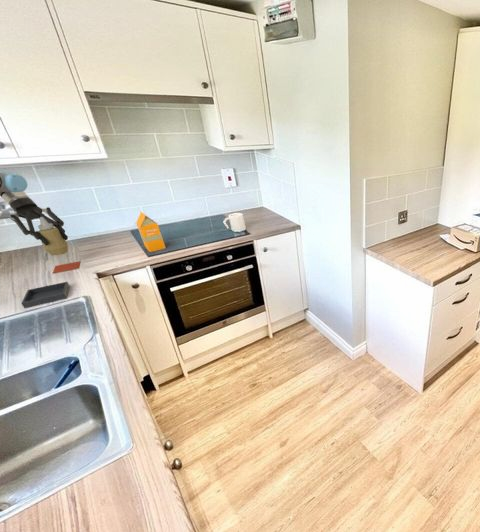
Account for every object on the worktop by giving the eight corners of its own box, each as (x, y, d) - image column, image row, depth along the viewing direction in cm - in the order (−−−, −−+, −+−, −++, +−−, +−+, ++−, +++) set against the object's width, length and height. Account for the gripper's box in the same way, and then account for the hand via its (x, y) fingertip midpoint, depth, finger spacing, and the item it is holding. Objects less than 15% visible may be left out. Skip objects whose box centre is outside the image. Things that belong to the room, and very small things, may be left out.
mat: (52, 273, 151) (52, 273, 151) (55, 266, 157) (55, 265, 157) (78, 268, 156) (78, 268, 156) (80, 261, 162) (79, 261, 162)
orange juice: (161, 243, 184) (149, 210, 175) (166, 248, 179) (154, 213, 170) (144, 247, 179) (132, 213, 170) (149, 252, 174) (136, 217, 165)
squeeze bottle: (54, 258, 149) (35, 221, 140) (43, 255, 151) (24, 218, 143) (75, 251, 155) (57, 215, 147) (64, 248, 158) (47, 213, 149)
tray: (24, 308, 126) (21, 303, 125) (30, 294, 135) (27, 289, 134) (66, 298, 133) (63, 293, 132) (69, 286, 142) (67, 281, 141)
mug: (244, 226, 212) (241, 212, 208) (246, 230, 206) (243, 215, 201) (224, 229, 207) (221, 214, 202) (226, 233, 200) (222, 218, 196)
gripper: (47, 201, 157) (81, 238, 159) (-10, 212, 141) (28, 253, 143) (48, 192, 153) (83, 229, 155) (-11, 202, 137) (29, 244, 139)
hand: (57, 241), depth 149 cm, fingers closed on squeeze bottle, 6 cm apart
